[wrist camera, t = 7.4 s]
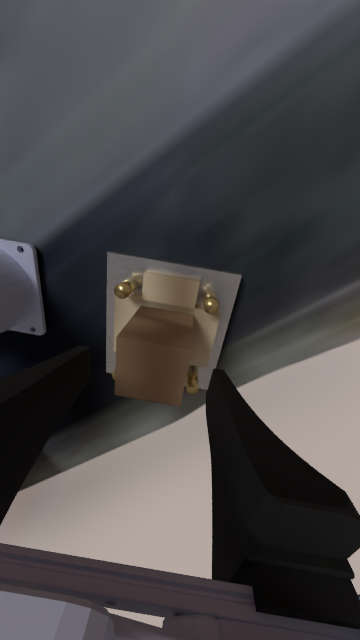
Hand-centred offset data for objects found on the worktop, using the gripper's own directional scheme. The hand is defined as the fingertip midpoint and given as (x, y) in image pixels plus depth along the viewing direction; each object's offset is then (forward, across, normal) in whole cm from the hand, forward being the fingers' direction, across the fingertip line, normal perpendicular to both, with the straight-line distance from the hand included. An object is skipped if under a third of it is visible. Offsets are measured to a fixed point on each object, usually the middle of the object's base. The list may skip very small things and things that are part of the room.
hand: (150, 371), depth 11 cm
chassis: (+7, 0, 0) cm, 7 cm away
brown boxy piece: (+6, 0, 0) cm, 6 cm away
